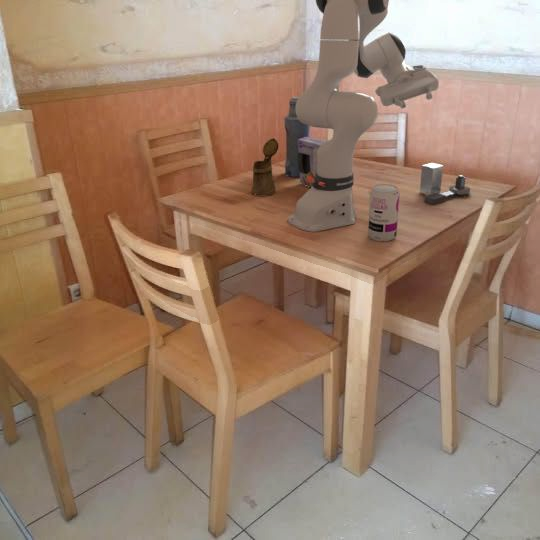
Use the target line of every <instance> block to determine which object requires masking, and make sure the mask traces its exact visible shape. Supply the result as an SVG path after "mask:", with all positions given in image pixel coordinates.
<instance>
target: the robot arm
mask: <svg viewBox="0 0 540 540" xmlns="http://www.w3.org/2000/svg"><path fill="white" fill-rule="evenodd" d="M390 2H391V0H315V4H316V6H317V8H318V10H319V12H320V13H322V14H323V15H322V20H321V26H320V37H319V38H320V40H319V55H318V63H317V70H316V72H315V76H314V78H313V80H312V82H311V83H310V85H309V86H308V87H307V88H306V90H304V91H303V92H302V93H300V94H299V96H298V97H299V98H298V100H297V102H296V115H297V118H298V119H299V121H300V122H301V123H304V124H306V125H309V126H310V127H313V128H319V129H329V130H333V131H332V133H333V134H332V137H331V139H329V140H326V141H325V143H323V144H322V145H321V146H320V147H319V149H318V151H317V173H316V175H315V177H314V178H313V177H310V176H308V177H307V178H306V180H307V182H308V183H311V184H312V183H313V184H312V187H311V188H310V187H309V189H308V190H307V191H306V192H305V194H303V195H302V196H301V198H299V199H298V200H297V202H296V204H295V209H294V214H291V215H289V216H287V222H288V224H290V225H291V226H293V227H295V228H298V229H300V230H303V231H306V232H312V233H313V232H314V233H315V232H320V231H326V230H330V229H336V228H340V227H346V226H350V225H354V224H355V223H356V220H355V219H356V218H357V214H356V210H355V206H354V205H355V204H354V197H353V196H354V195H353V186H354V182H355V181H354V172H353V166H354V165H353V164H354V153H355V148H356V145H357V143H358V141H359V139H360V138H361V137H362V135H363V134H364V133H365V132H367V131H368V130H370V129H371V128H372V127H373V126H374V124H375V123H376V121H377V118H378V113H379V107H378V104H377V101H376V100H375V98H374V97H373V96H371V95H368V94H364V93H361V92H357V91H355V92H354V91H339V88H340V85H341V82H342V81H343V80H344V79H346V78H348V77H350V76H351V75H353V74H355V75H356V76H357V77H359V78H362V79H363V78H364V79H368V78H370V77H371V76H372V75H374V74H375V73H376V72H378V71H380V73H381V75H382V76H383V78H384V79H385V80H386V84H384V85H381V86H378V87H377V88H376V89H375V94H376V95H377V96H378V97H379V99H380V102H381V105H382V106H383V107H389V106H393V105H395V106H396V107H397V106H398V107H399V108H400V109H401V110H402V109H405V108H406V107H407V106H406V105H407V104H406V102H405V101H407V100H412V99H413V98H417V97H420V96H422V95H425V98H426V100H428V101H429V100H432V99H433V94H432V92H434V91H437V90H438V88H439V83H440V82H439V79H438V77H437V75H435V73H433V72H432V71H430V70H429V69H427V66H426V65H425V64H420V65H419V64H418V65H407V64H406V61H405V59H406V52H407V51H406V48H405V45H404V44H403V42H402V40H401V39H400V37H399V36H398V35H397V34H396V33H394V32H390V31H387V32H385V33H383V34H381V35H380V36H378V37H377V38H376V39H373V40H372V41H370V42H369V43H367V44H366V45H364V44H365V43H364V41H365V39H366V38H367V37H368V36H369V34H370V33H371V32H372V31H374V30H375V29H376V28H377V27H378V26H379V25H380V24H382V23H383V21H384V20H385V19H386V17H387V15H388V12H389V10H390Z"/></svg>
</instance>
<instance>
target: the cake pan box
mask: <svg viewBox="0 0 540 540" xmlns="http://www.w3.org/2000/svg"><path fill="white" fill-rule="evenodd" d="M325 142H326V141H325V140H322V139H318V138H313V137H310V136H309V137H304V138H301V139H298V151H299V153H298V167H299V171H300V177H299V184H300V183H302V184H304V185H307V186H309V187H308V188H310V187H312V184H313V183H312V184H311V183H308V182H307V180H306V178H307V177H308V176H310V177H313V178H314V177H315V175H316V173H317V151H318V149H319V147H320V146H321V145H322V144H323V143H325ZM302 184H301V185H302ZM304 185H303V186H304ZM307 186H306V187H307Z"/></svg>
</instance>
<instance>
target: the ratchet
mask: <svg viewBox="0 0 540 540" xmlns="http://www.w3.org/2000/svg"><path fill="white" fill-rule="evenodd" d="M470 193H471V187H469V186H466V177H465V175H463V174H459V175H457V176H456V177H455V185H451V186H449V187H448V190H446V191H444V192H440V194H439V193H435V194H432V195H426V196H424V203H427V204H430V205H432V206H433V205H437V204H439V203H443V202H445V201H447V200H451V199H454V198H456V196H457V198H465V197H464V196H466V197H469V196H470V195H471V194H470ZM469 194H470V195H469ZM468 195H469V196H468Z"/></svg>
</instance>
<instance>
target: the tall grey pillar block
mask: <svg viewBox="0 0 540 540" xmlns="http://www.w3.org/2000/svg"><path fill="white" fill-rule="evenodd" d="M443 171H444V165H442V164H439V163H434V162H430V163H426V164H422V165H421V173H420V185H419V193H420V194H422V195H426V196H428V195H432V194H435V193H441V192H442V191H441V189H442V181H443Z"/></svg>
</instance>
